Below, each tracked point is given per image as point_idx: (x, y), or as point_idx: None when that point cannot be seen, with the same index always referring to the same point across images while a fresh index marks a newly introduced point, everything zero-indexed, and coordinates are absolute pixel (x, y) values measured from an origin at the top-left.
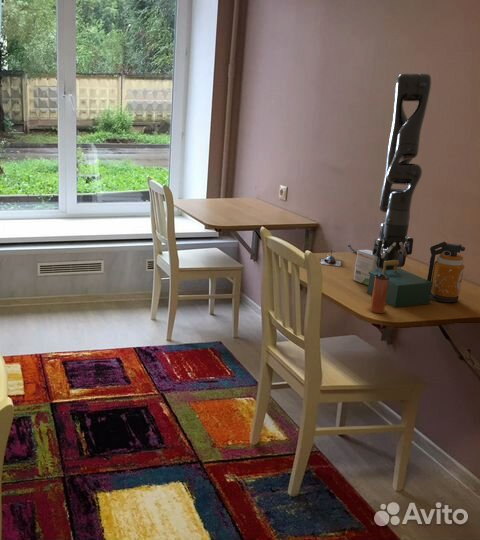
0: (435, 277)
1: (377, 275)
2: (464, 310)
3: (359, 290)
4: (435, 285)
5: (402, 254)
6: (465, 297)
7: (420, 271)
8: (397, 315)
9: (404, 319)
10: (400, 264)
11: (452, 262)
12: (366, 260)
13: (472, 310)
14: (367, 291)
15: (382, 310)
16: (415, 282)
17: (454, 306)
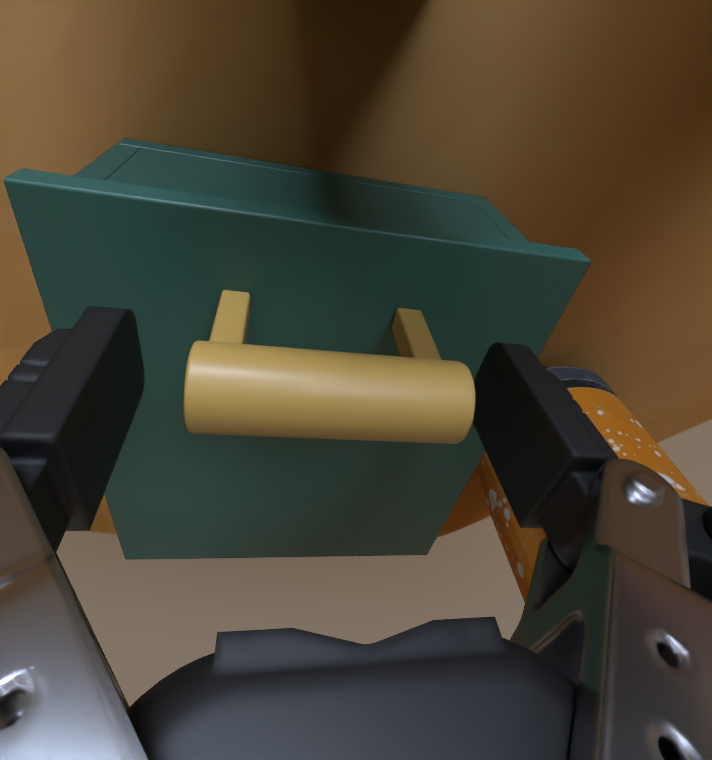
0: (519, 533)
1: None
2: (459, 511)
3: (67, 26)
4: (494, 491)
5: (565, 537)
6: (651, 424)
7: None
8: (104, 495)
9: (111, 524)
10: (484, 399)
11: None
12: None
13: (486, 515)
14: (118, 143)
15: None
16: (308, 544)
17: (471, 480)
